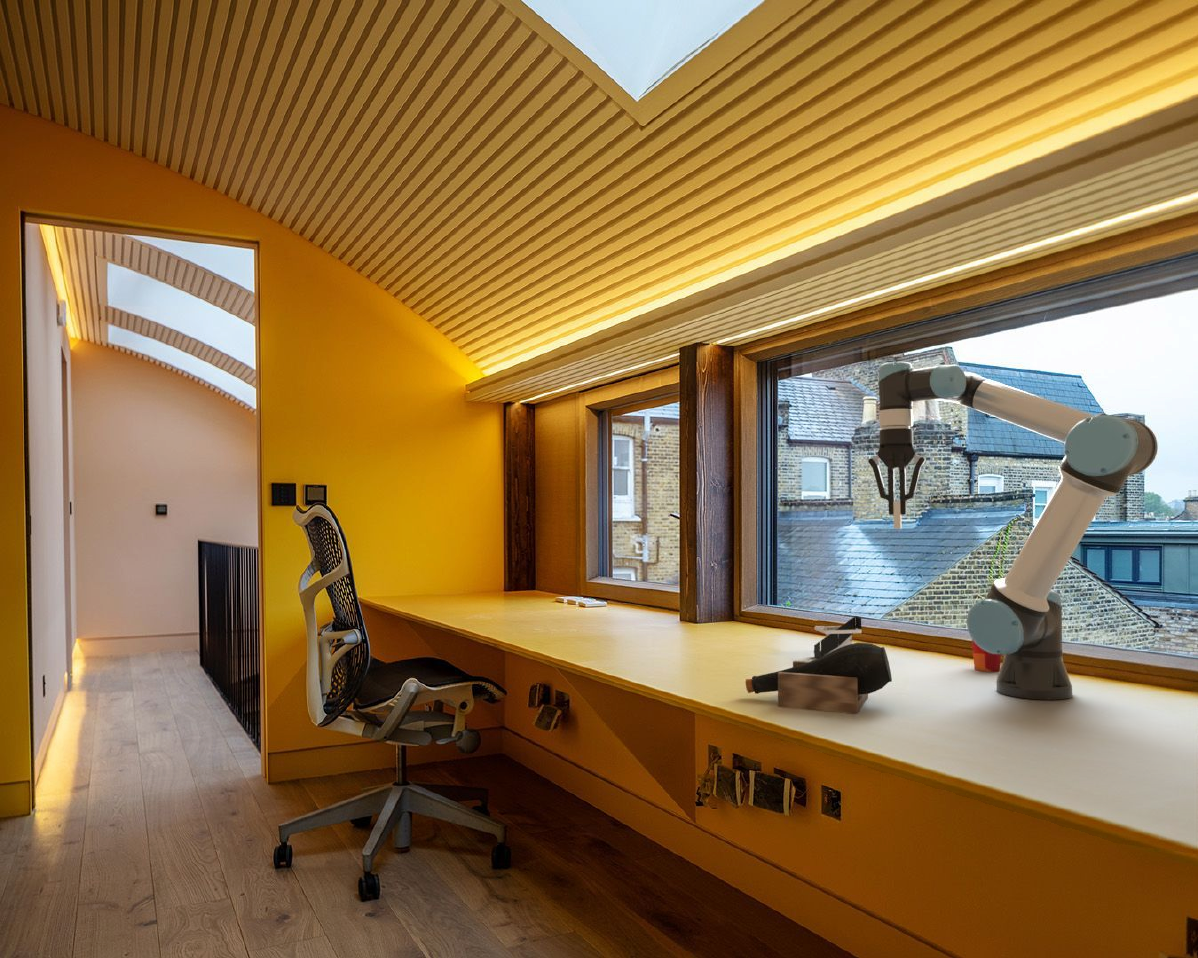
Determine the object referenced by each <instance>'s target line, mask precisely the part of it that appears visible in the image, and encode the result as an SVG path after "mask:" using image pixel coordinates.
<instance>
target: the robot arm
mask: <svg viewBox="0 0 1198 958" xmlns="http://www.w3.org/2000/svg"><path fill="white" fill-rule="evenodd" d="M877 385H878V399H879V401H878V402H879V408H878V409H879V410H878V417H879V418H878V424H879V428H880V430H879V433H878V434H879V448H878V451H877V454H876V455H875V456H874V457H871V458H868V461H867V462H868V463H869V465H870V466H871V468H872V470H873V475H874V478H875V481H876V485H877V489H878V493H879V496H880V498H881V499H884V500H887V502H888V513H889V515H890V516H891V515H893V529H894V530H902V528H903V526H902V525H903V523H902V522H903V521H902V518H903V517H902V516H903V515H906V514H907V501H908V500H910V499H913V498H914V497H915V494H916V491H917V486H918V481H919V478H920V474H921V469H922V466H923V465H924V464H925V462H926V458H925V457H923V456H921V455H918V454H917V451H916V449H915V448H914V430H913V428H912V427H913V426H914V413H913V412H914V409H913V407H914V406H913V405H914V404H913V403H917V402H923V401H924V402H927V401H941V402H946V403H947V402H948V403H954V404H959V405H961V406H964V407H966V408H969V409H973V410H976V411H979V412H981V413H984V414H987V415H989V416H992V417H995V418H996V419H997V418H998V419H999V420H1001V421H1005V422H1006V423H1010V424H1013V425H1015V426H1018V427H1021V428H1024V429H1026V430H1028V431H1032V432H1034V433H1037V434H1039V435H1042V436H1044V437H1047V438H1050V439H1052V440H1055V441H1057V442H1061V443H1063V444H1064V445H1063V451H1064V456H1063V459H1062V461H1061V463H1060V464H1059V466H1058V471H1059V473H1060V476H1061V479H1060V481H1059V483H1058V484H1057V486H1056V488H1055V489H1054V491H1053V493H1052V495H1051V496H1050V499H1049V500H1048V502H1047V504H1046V506H1045V508H1044V509H1043V511H1042V513H1041V514H1040V516H1039V518H1038V519H1037V522H1036V523H1035V525H1034V527H1033V529H1032V530H1031V532H1030V534H1029V536H1028V537H1027V539H1026V541H1025V542H1024V545H1023V546H1022V548H1021V550H1020V552H1019V553H1018V555H1017V557H1016V558H1015V560H1014V562H1013V564H1012V566H1011V567H1010V569H1009V571H1008V573H1007V575H1006V576H1005V577H1004V578H999V579H995V581H994V582H993V583H992V585H991V587H990V589H989V590H988V592H987V594H986V596H985V598H983V599H981V600H978V601H977V602H975V603H974V604H973V605H972V606H971V608H970V609H969V610H968V613H967V616H966V617H967V618H966V626H967V629H968V633H969V636H970V638H971V640H972V639H973V641H974V642H975V643H976V644H977V645H978V646H979V647H980V648H981V649H983V650H985V651H987V652H989V653H992V654H1001V655H1003V660H1002V661H1001V665H1000V671H998V675H997V677H996V681H995V683H996V691H997V693H1001V694H1003V695H1006V696H1010V697H1015V698H1022V699H1029V700H1042V701H1043V700H1045V701H1046V700H1049V701H1051V700H1054V701H1056V700H1064V699H1069V698H1072V697H1073V686H1072V685H1073V684H1072V682H1071V679H1070V676H1069V674H1068V671H1067V667H1066V665H1065V663H1064V660H1063V613H1062V612H1063V611H1062V610H1063V606H1062V605H1063V604H1062V600H1061V599H1062V598H1061V595H1060V594H1059V593H1058V592H1057V591H1054V590H1052V589H1053V587H1054V585H1055V583H1056V582H1057V580H1058V579H1059V577H1060V576H1061V574H1062V572H1063V571H1064V569H1065V567H1066V565H1067V564H1068V562H1069V560H1070V558H1072V557H1071V556H1073V554H1074V552H1075V551H1076V549H1077V547H1078V545H1079V543H1080V542H1081V540H1082V539H1083V537H1084V535H1085V534H1086V532H1087V529H1088V528H1089V526H1090V525H1091V523H1092V522H1093V520H1094V518H1095V517H1096V514H1097V513H1098V511H1099V510H1100V508H1101V506H1102V505H1103V503H1104V501H1105V500H1106V498H1109V497H1112V496H1117V495H1118V494H1119V493H1120V492H1121V490H1122V488H1123V486H1124V484H1125V483H1126V481H1127V480H1128V478H1129V477H1130V476H1133V475H1137V474H1139V473H1141V472H1143V471H1145V470H1147V469H1148V468H1149V467H1150V466H1151V465H1152V464H1153V462H1154V460H1155V459H1156V457H1157V454H1158V446H1159V445H1158V440H1157V436H1156V435H1155V433H1154V432H1153V430H1152V429H1151V428H1150V427H1149V426H1147V425H1146V424H1145V423H1143V422H1141V421H1139V420H1136V419H1132V418H1124V417H1120V416H1115V415H1111V414H1106V413H1104V412H1103V413H1098V414H1097V415H1096V414H1095V415H1094V414H1092V413H1089V412H1085V411H1083V410H1079V409H1076V408H1074V407H1071V406H1068V405H1065V404H1062V403H1059V402H1056V401H1054V400H1050V399H1048V398H1045V397H1041V396H1038V395H1036V394H1033V393H1030V392H1026V391H1024V390H1022V389H1021V390H1020V389H1018V388H1015V387H1012V386H1009V385H1006V384H1003V383H1001V382H998V381H995V380H991V379H988V378H986V377H982V376H981V375H980V374H977V373H975V372H970V371H964V370H963V369H962V367H961V366H960V365H958V364H940V365H936V366H931V367H930V366H929V367H924V368H913V365H912V364H911V362H909V361H891V362H886V363H885V362H884V363H883V364H881V365H880V366H879V369H878V381H877ZM913 459H914V461H913V463H914V464H915V465H914V467H913V473H912V476H911V481H910V484H909V490H908V493H907V467H908V466H909V465H910V463H911V462H912V460H913ZM880 460H881V462H882V463H883V464H884V466H885V467H886V468H887V490H888V492H887V491H886V487H885V484H884V480H883V477H882V476H883V475H882V473H881V469H880V467H879V465H880V463H881V462H880ZM896 468H898V472H899V473H898V474H899V500H896V498H895V497H896V490H895V484H896V483H895V469H896ZM887 493H888V494H887ZM895 500H896V501H895Z"/></svg>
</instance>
